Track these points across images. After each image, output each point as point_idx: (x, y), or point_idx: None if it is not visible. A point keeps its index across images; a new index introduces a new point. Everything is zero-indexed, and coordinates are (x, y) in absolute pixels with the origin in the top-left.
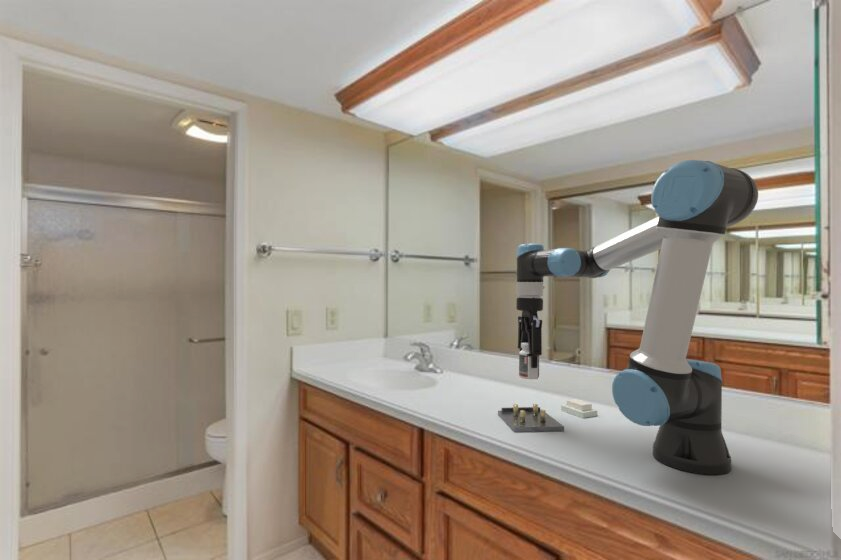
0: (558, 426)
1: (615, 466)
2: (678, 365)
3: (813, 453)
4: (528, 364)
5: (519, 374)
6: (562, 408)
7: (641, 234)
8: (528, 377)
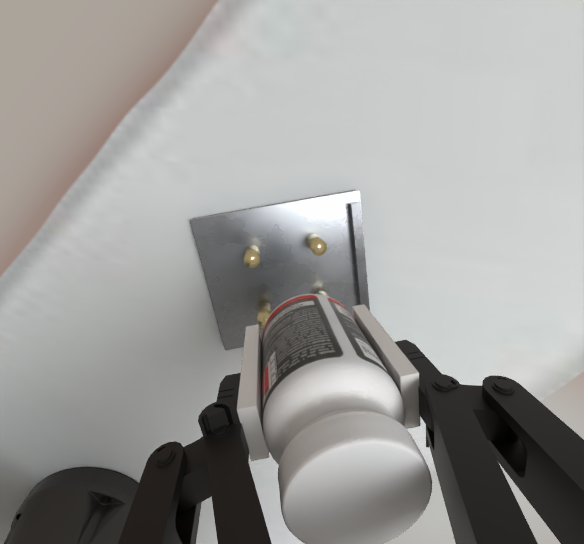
0: (222, 337)
1: (14, 395)
2: None
3: None
4: (245, 369)
5: (303, 297)
6: None
7: None
8: (248, 330)
